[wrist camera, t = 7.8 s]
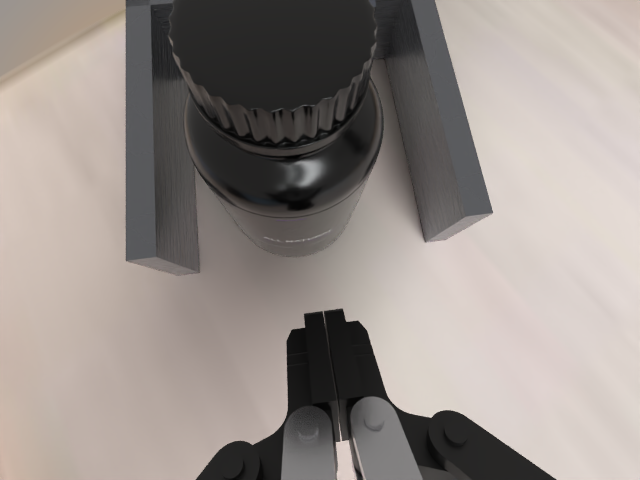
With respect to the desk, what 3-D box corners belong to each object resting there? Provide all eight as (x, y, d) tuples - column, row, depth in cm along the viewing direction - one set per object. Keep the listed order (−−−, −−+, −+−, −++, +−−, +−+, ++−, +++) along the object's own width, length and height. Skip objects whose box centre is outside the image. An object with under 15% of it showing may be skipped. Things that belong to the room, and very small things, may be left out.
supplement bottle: (290, 284, 18) (246, 227, 6) (213, 198, 19) (49, 6, 7) (376, 206, 19) (483, 30, 7) (300, 130, 20) (284, -134, 8)
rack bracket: (445, 239, 18) (492, 213, 14) (177, 275, 18) (125, 261, 13) (398, 41, 21) (424, -38, 17) (169, 64, 21) (125, -12, 16)
